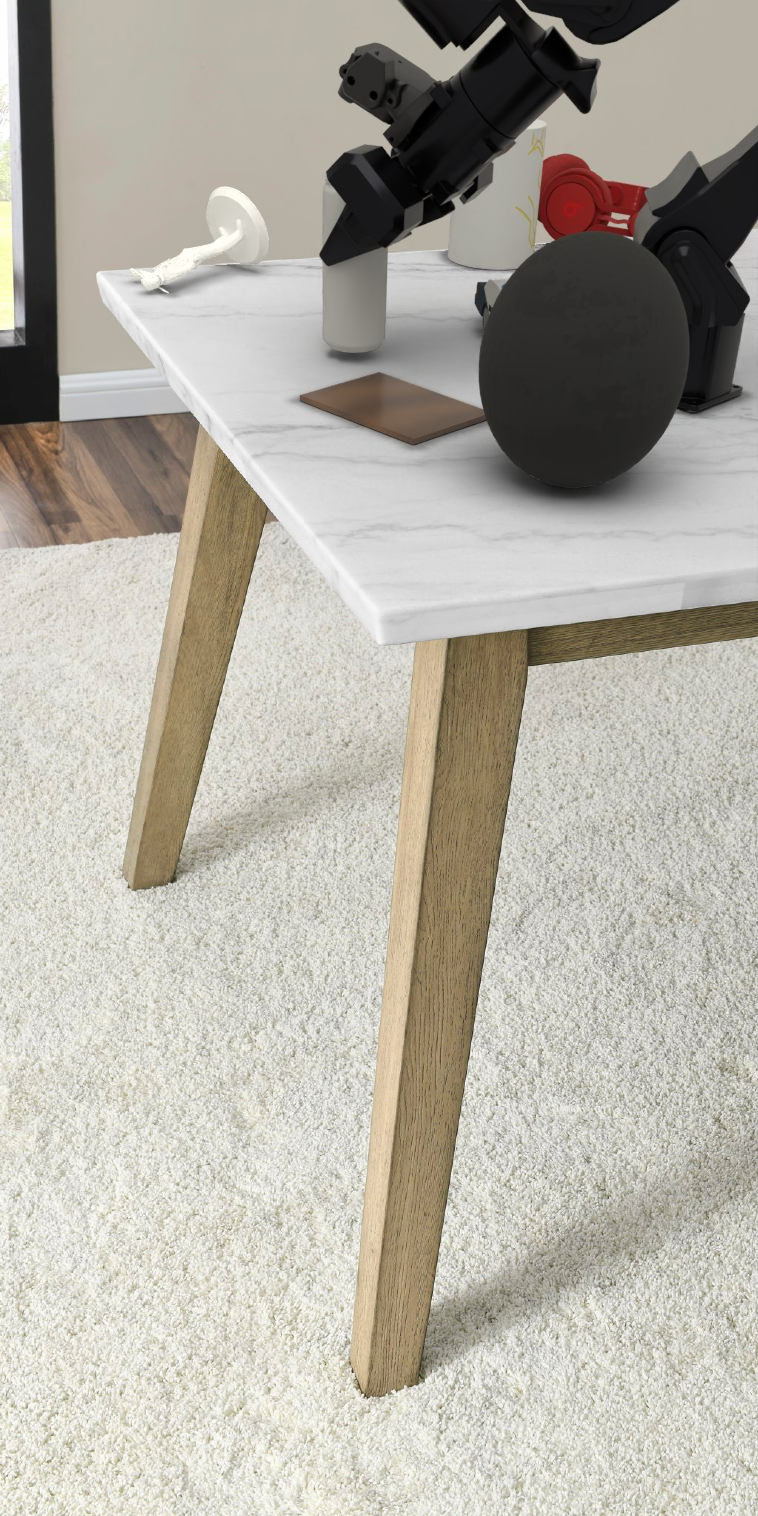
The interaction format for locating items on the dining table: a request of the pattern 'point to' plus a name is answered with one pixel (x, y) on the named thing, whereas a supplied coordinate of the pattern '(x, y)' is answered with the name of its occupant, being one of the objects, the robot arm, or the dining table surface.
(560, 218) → the headphones
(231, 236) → the figurine
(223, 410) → the dining table surface
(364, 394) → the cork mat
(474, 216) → the cup
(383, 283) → the beverage can
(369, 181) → the robot arm
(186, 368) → the dining table surface
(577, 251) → the decorative egg
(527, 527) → the dining table surface
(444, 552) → the dining table surface
